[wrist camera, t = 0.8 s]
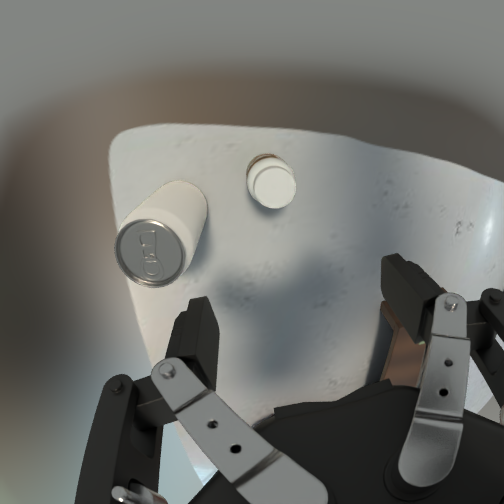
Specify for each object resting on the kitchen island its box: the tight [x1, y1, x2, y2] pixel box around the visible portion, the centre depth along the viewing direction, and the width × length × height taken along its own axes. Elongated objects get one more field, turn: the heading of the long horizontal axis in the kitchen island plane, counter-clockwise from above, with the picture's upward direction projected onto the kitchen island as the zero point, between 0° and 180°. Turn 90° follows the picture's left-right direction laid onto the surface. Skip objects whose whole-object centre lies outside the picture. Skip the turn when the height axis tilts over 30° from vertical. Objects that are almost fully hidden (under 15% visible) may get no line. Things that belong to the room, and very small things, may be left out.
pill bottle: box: [246, 153, 296, 209], centre depth 26 cm, size 4×4×8 cm
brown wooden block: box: [380, 287, 448, 387], centre depth 39 cm, size 28×12×9 cm, turn 7°
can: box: [114, 181, 208, 288], centre depth 25 cm, size 6×6×12 cm
